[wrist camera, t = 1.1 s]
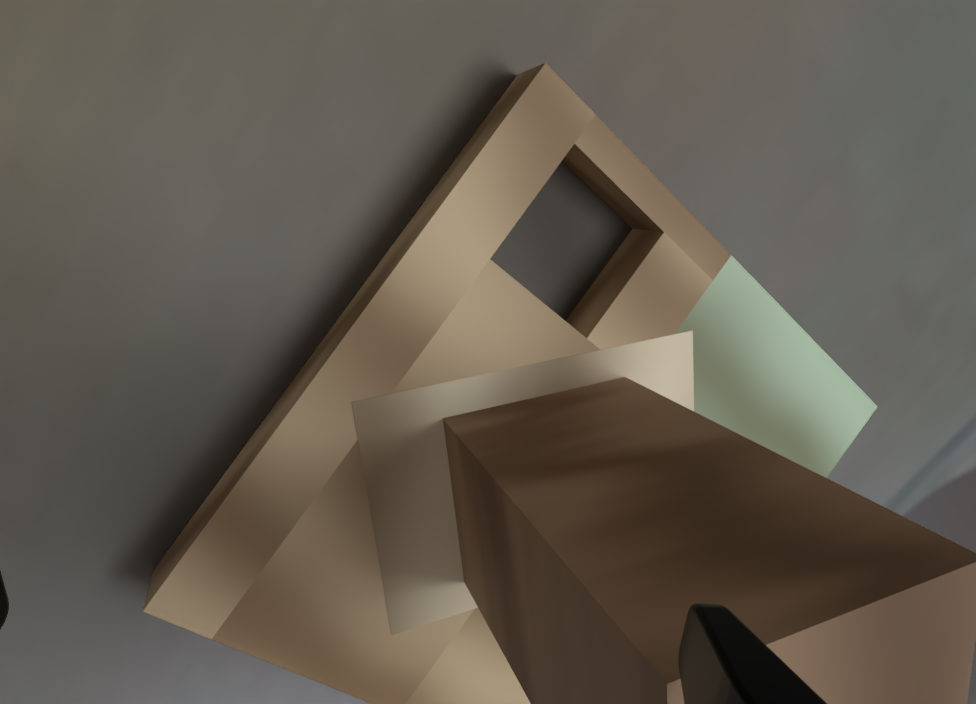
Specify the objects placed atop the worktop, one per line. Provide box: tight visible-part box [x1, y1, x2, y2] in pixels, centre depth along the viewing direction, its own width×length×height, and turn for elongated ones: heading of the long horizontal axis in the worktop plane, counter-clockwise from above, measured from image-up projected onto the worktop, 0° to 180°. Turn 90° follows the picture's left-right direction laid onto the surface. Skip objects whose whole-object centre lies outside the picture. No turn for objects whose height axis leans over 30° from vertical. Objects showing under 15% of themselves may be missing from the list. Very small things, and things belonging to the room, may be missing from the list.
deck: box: [143, 63, 877, 704], centre depth 22 cm, size 18×18×2 cm
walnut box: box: [443, 377, 976, 704], centre depth 15 cm, size 6×6×11 cm
